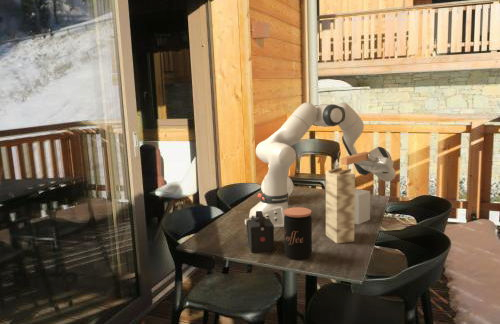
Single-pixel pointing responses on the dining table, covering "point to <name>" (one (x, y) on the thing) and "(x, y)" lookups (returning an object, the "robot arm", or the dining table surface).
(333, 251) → the dining table surface
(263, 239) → the camera
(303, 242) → the coffee jar
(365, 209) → the step
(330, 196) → the stand
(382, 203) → the dining table surface
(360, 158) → the block
